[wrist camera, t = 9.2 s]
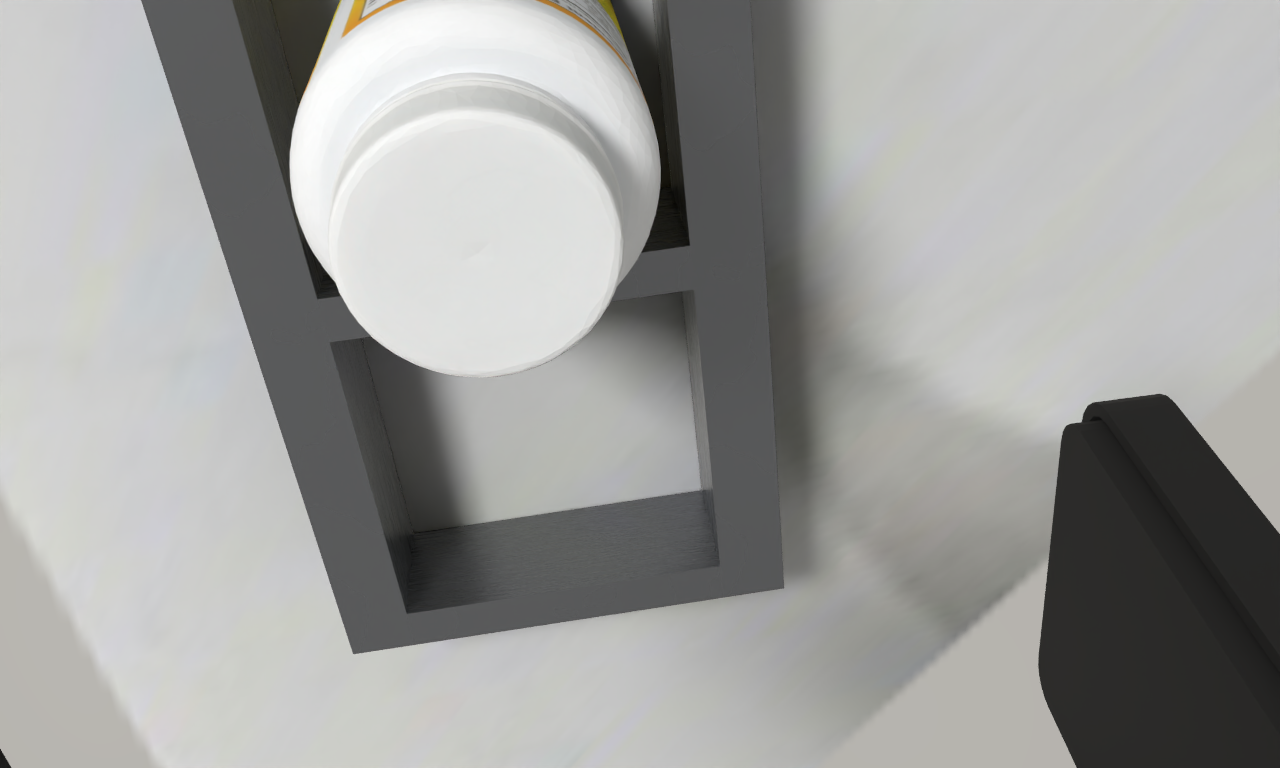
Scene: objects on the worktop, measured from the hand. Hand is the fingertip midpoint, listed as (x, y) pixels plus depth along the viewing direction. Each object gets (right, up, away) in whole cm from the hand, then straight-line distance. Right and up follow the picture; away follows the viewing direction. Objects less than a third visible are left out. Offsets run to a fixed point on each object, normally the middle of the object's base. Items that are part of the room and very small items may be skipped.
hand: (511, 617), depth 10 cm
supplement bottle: (-2, +9, +15) cm, 18 cm away
